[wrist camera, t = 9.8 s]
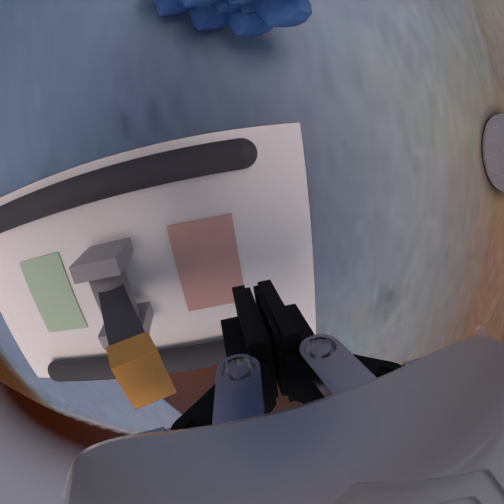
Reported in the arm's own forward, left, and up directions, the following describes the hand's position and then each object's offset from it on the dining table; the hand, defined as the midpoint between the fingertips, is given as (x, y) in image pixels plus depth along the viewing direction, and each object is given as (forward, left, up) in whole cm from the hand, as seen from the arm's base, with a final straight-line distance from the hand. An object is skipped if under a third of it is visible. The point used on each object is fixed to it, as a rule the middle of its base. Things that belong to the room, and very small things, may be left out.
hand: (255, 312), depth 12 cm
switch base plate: (0, -8, -10) cm, 12 cm away
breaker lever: (0, -8, -6) cm, 10 cm away
